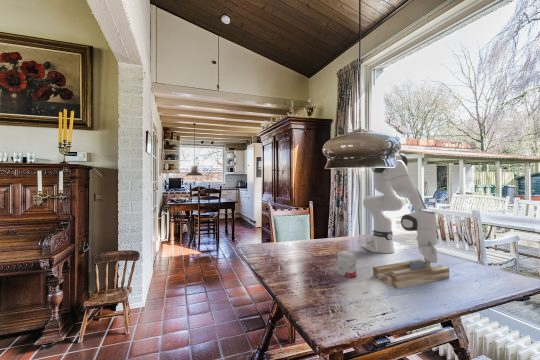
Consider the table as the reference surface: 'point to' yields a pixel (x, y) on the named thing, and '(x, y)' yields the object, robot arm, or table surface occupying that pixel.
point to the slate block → (417, 265)
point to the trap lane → (410, 282)
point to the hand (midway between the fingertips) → (427, 266)
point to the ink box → (346, 264)
